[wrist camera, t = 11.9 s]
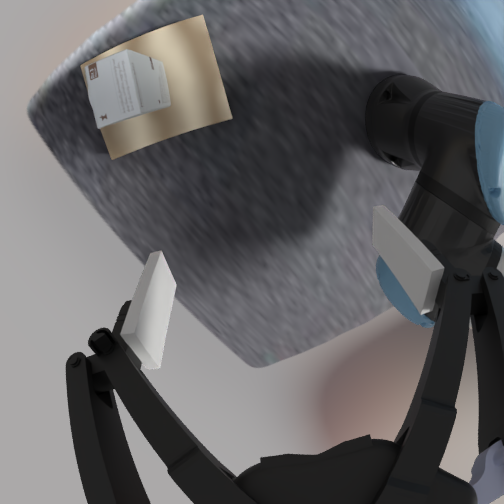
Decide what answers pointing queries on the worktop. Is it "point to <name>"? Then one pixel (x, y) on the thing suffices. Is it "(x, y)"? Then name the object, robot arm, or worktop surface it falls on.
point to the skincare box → (126, 87)
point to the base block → (172, 87)
